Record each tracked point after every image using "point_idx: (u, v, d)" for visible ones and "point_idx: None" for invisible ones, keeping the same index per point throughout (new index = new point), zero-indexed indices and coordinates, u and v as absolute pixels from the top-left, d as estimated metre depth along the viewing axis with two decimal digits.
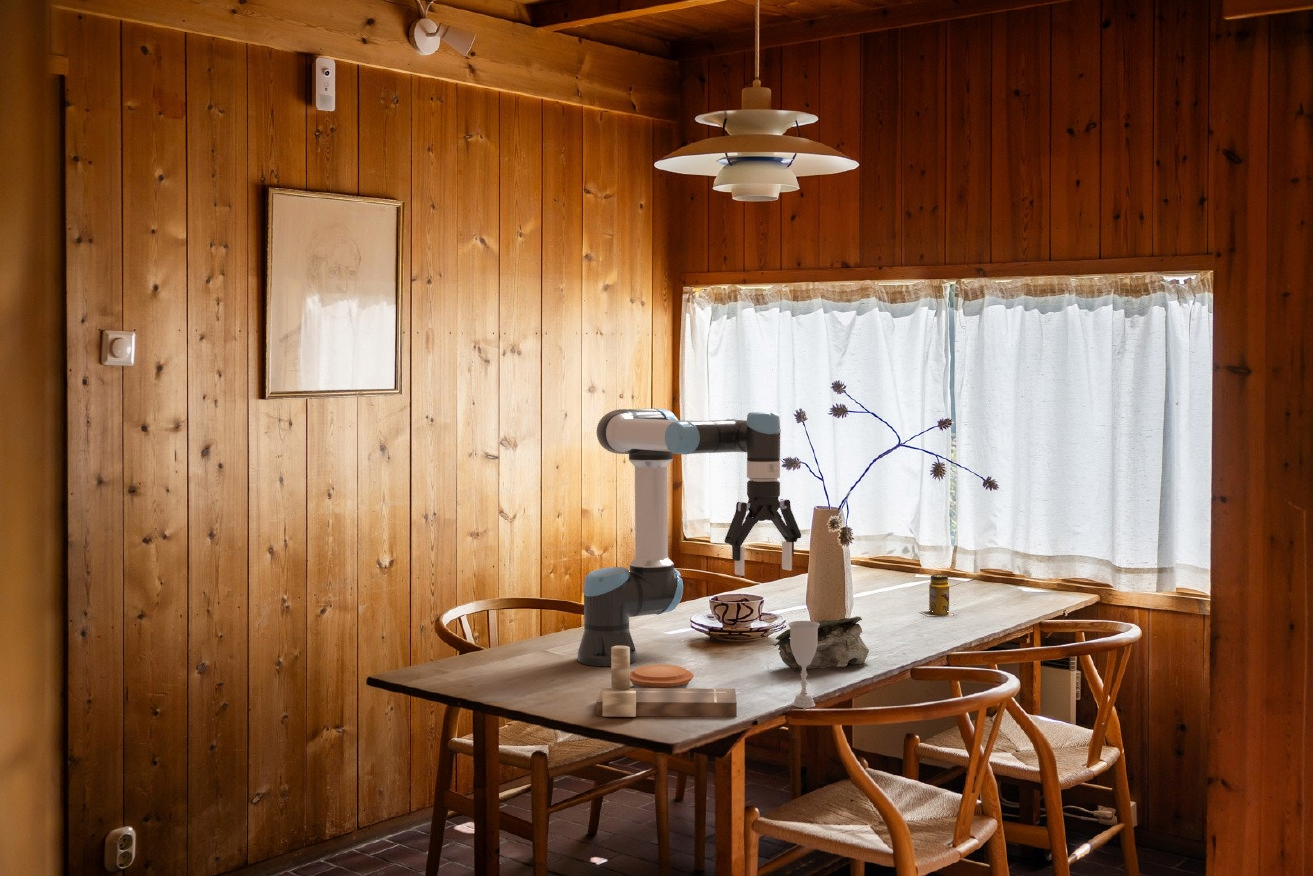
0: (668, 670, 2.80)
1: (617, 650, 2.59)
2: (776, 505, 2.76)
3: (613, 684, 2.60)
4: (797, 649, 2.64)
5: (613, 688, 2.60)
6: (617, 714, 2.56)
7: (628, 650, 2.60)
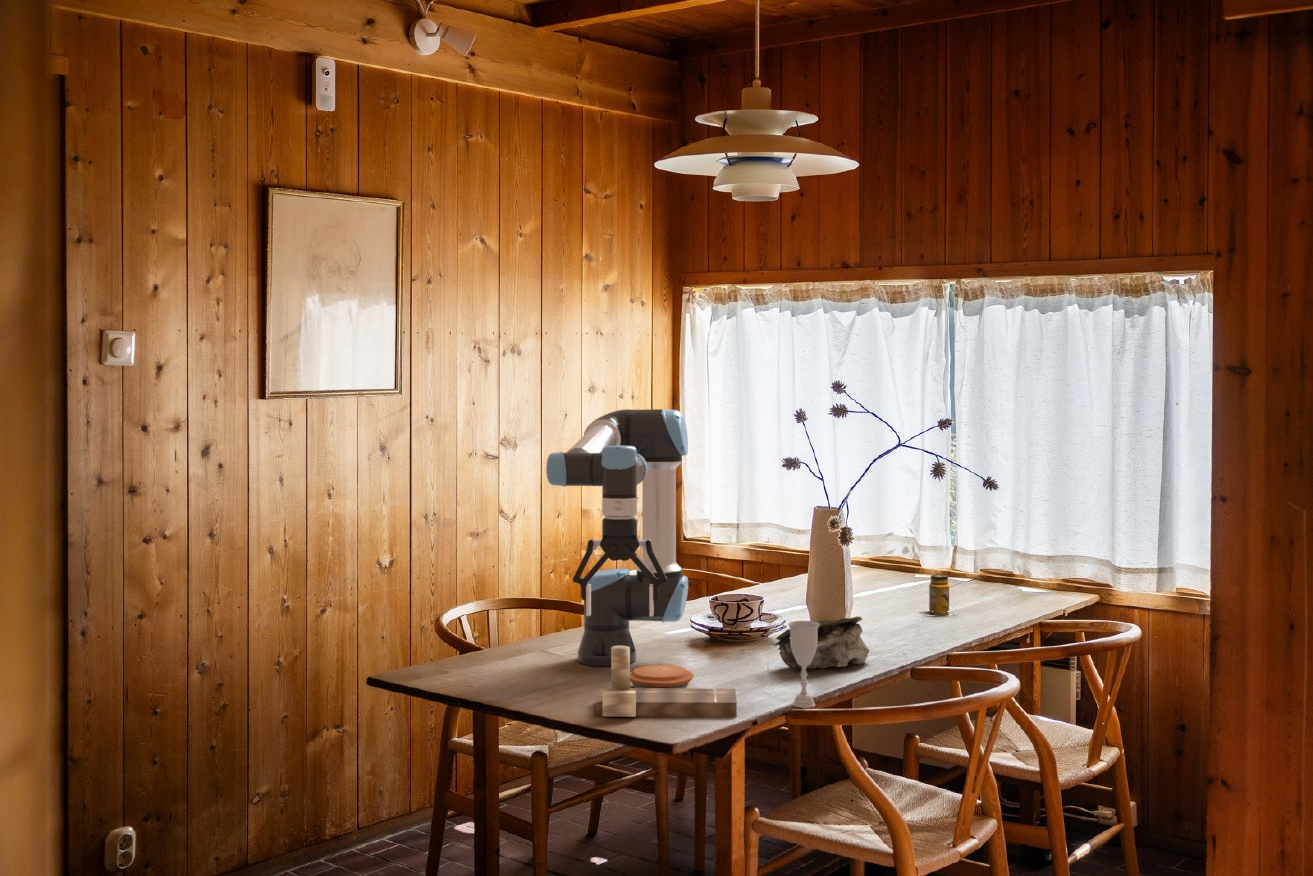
0: (668, 670, 2.80)
1: (617, 650, 2.59)
2: (632, 545, 2.59)
3: (613, 684, 2.60)
4: (798, 649, 2.64)
5: (613, 688, 2.60)
6: (617, 714, 2.56)
7: (628, 650, 2.60)
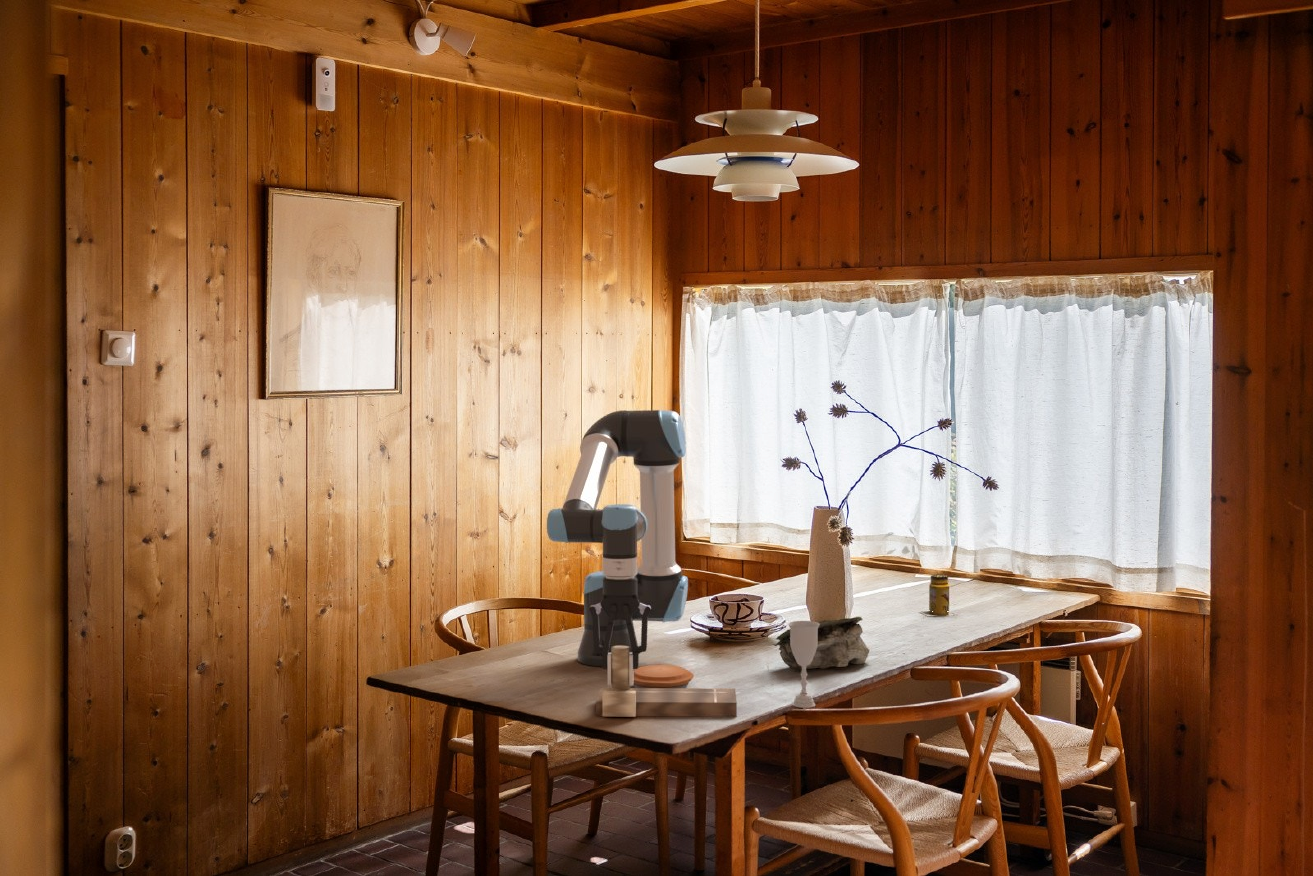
0: (668, 670, 2.80)
1: (617, 650, 2.59)
2: (633, 604, 2.60)
3: (613, 684, 2.60)
4: (797, 649, 2.64)
5: (613, 688, 2.60)
6: (617, 714, 2.56)
7: (628, 650, 2.60)
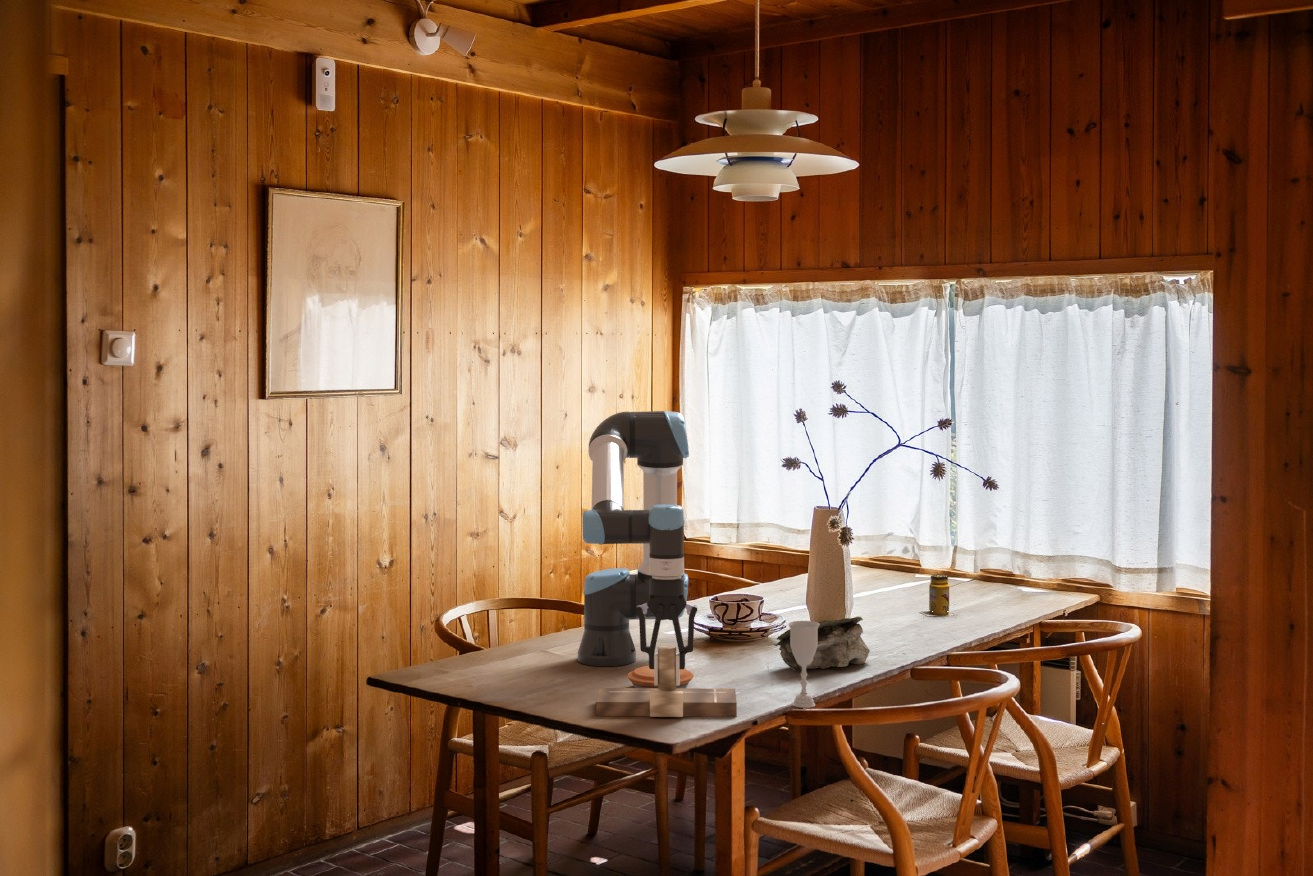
0: None
1: (664, 650, 2.59)
2: (680, 605, 2.59)
3: (660, 684, 2.60)
4: (798, 649, 2.64)
5: (660, 688, 2.60)
6: (664, 714, 2.56)
7: (675, 650, 2.60)
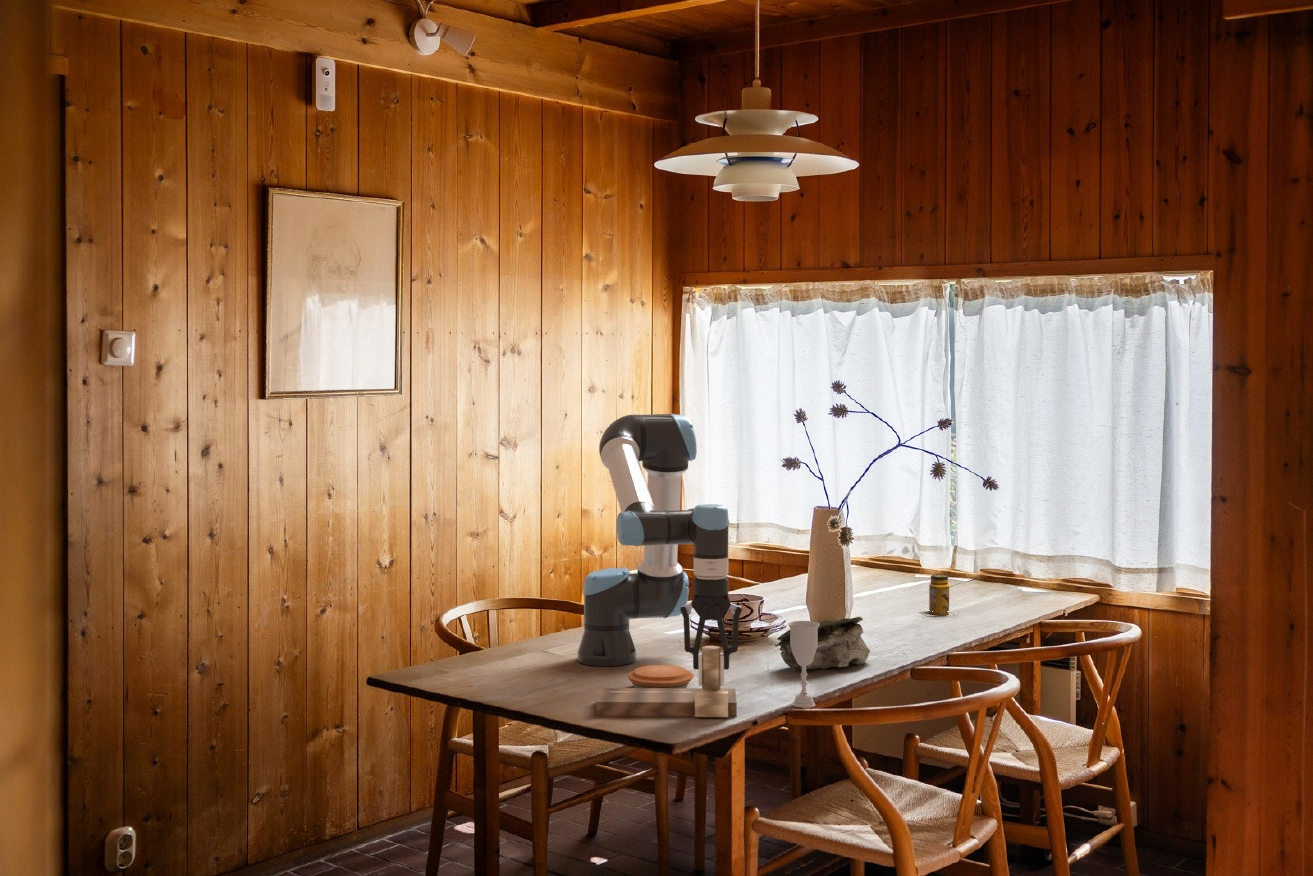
0: (668, 670, 2.80)
1: (708, 650, 2.59)
2: (724, 605, 2.59)
3: (704, 684, 2.60)
4: (797, 649, 2.64)
5: (704, 688, 2.60)
6: (709, 715, 2.55)
7: (719, 650, 2.60)
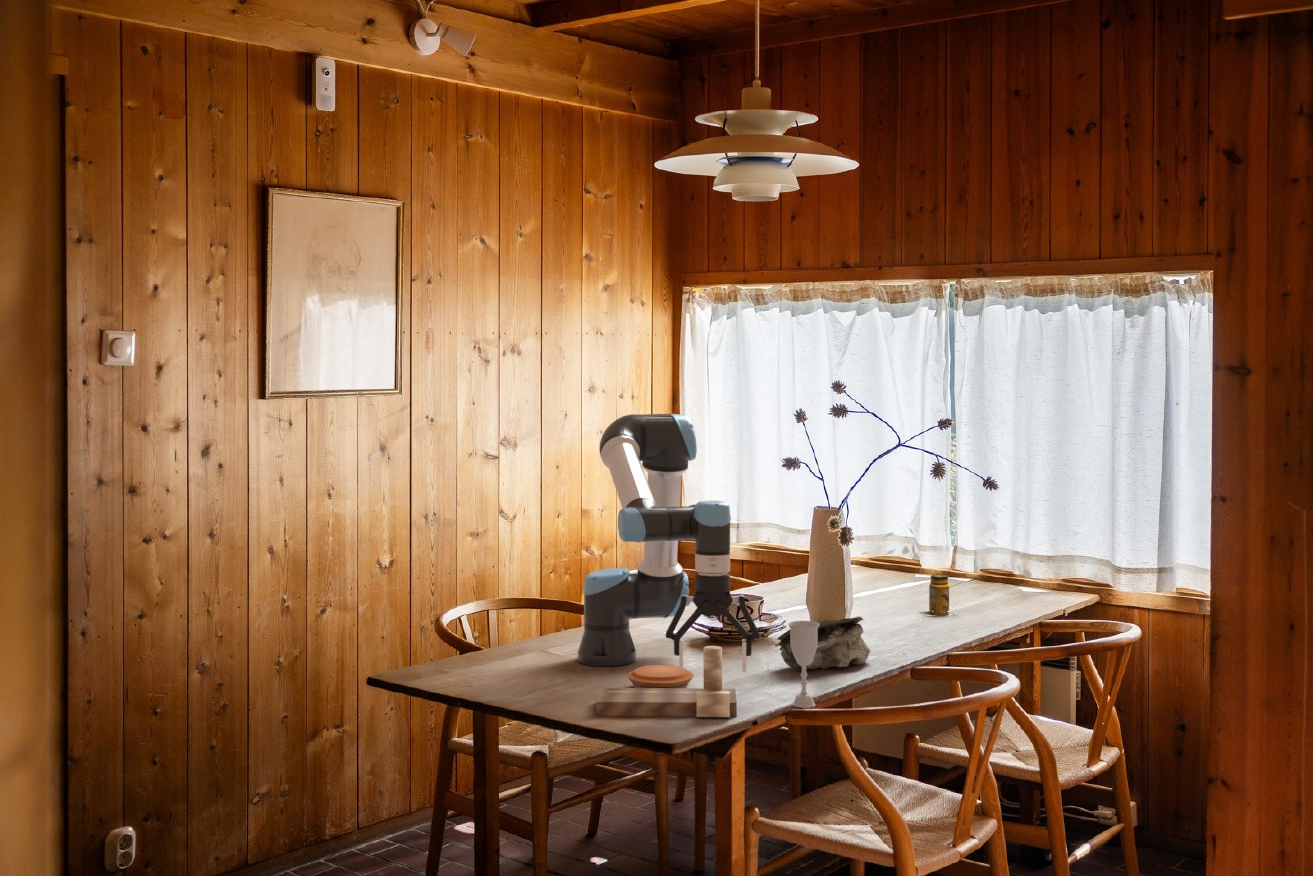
0: (668, 670, 2.80)
1: (710, 650, 2.59)
2: (726, 601, 2.59)
3: (706, 684, 2.60)
4: (797, 649, 2.64)
5: (706, 688, 2.60)
6: (711, 715, 2.55)
7: (721, 650, 2.60)
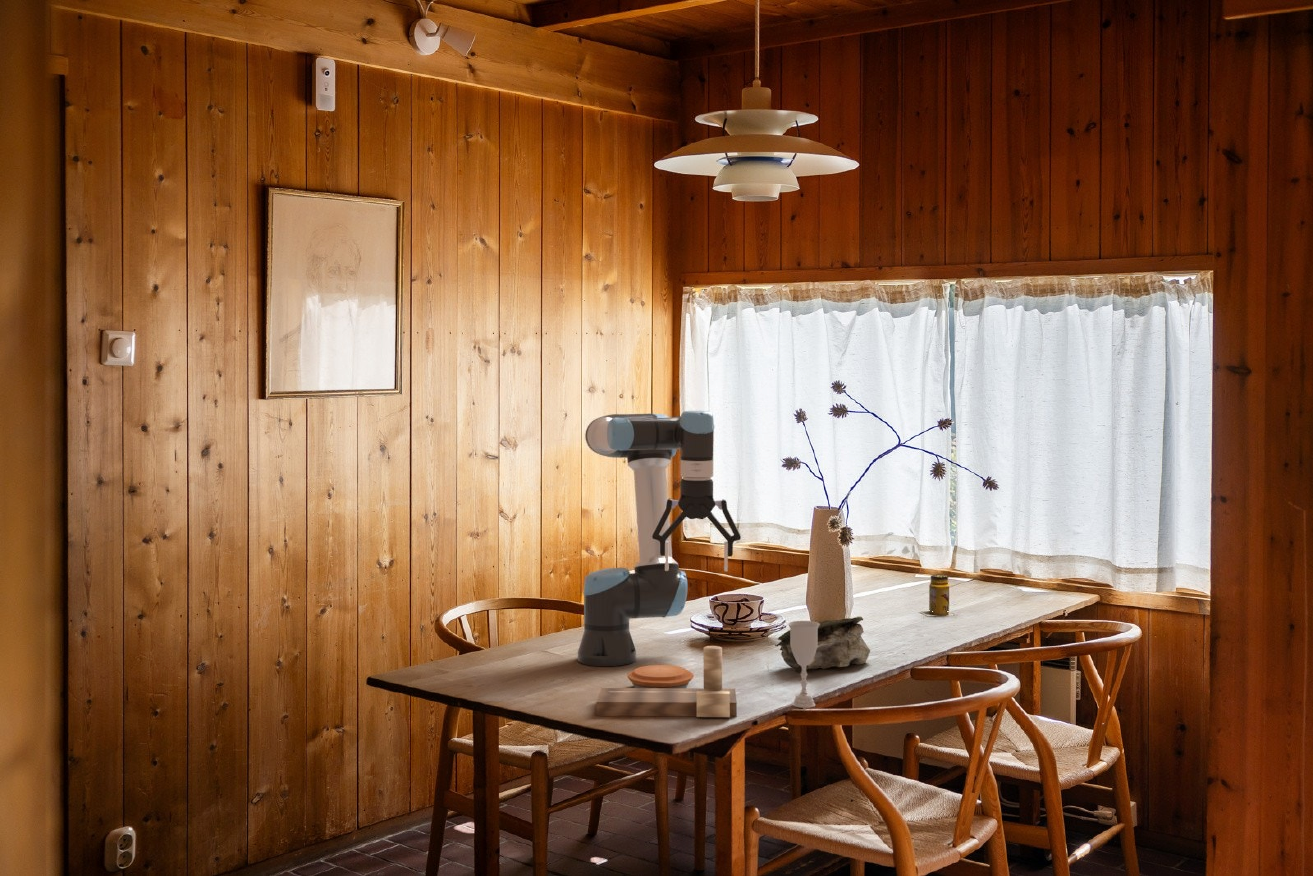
0: (668, 670, 2.80)
1: (710, 650, 2.59)
2: (709, 505, 2.75)
3: (706, 684, 2.60)
4: (798, 649, 2.64)
5: (706, 688, 2.60)
6: (711, 715, 2.55)
7: (721, 650, 2.60)
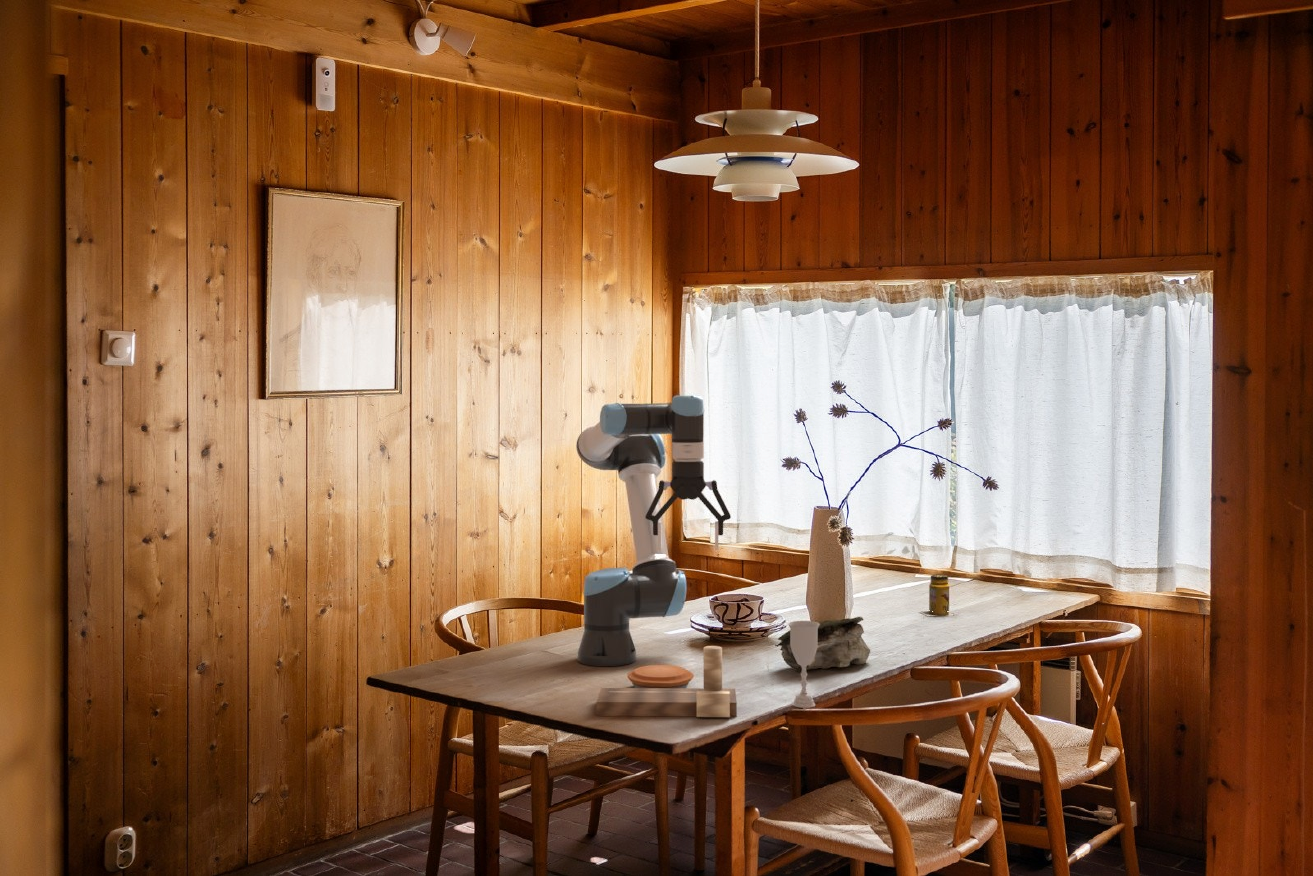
0: (668, 670, 2.80)
1: (710, 650, 2.59)
2: (700, 485, 2.86)
3: (706, 684, 2.60)
4: (798, 649, 2.64)
5: (706, 688, 2.60)
6: (711, 715, 2.55)
7: (721, 650, 2.60)
